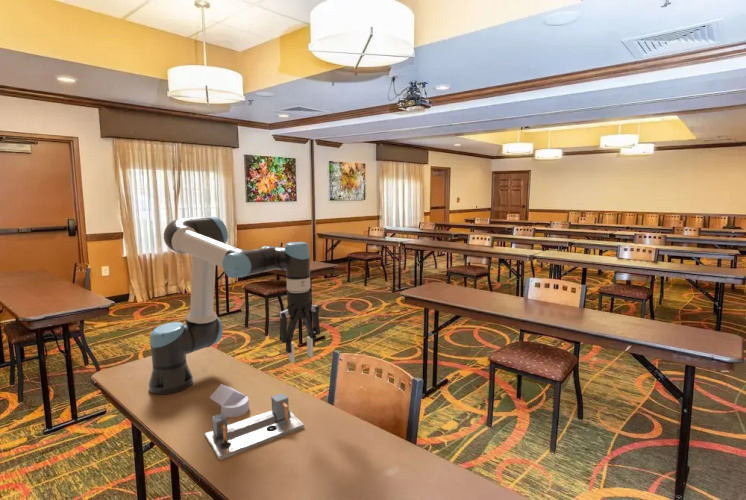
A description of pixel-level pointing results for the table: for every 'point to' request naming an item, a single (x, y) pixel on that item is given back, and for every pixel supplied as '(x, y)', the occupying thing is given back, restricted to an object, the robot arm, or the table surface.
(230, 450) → the bolt plate
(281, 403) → the slider
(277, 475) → the table surface
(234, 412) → the wedge on round base
